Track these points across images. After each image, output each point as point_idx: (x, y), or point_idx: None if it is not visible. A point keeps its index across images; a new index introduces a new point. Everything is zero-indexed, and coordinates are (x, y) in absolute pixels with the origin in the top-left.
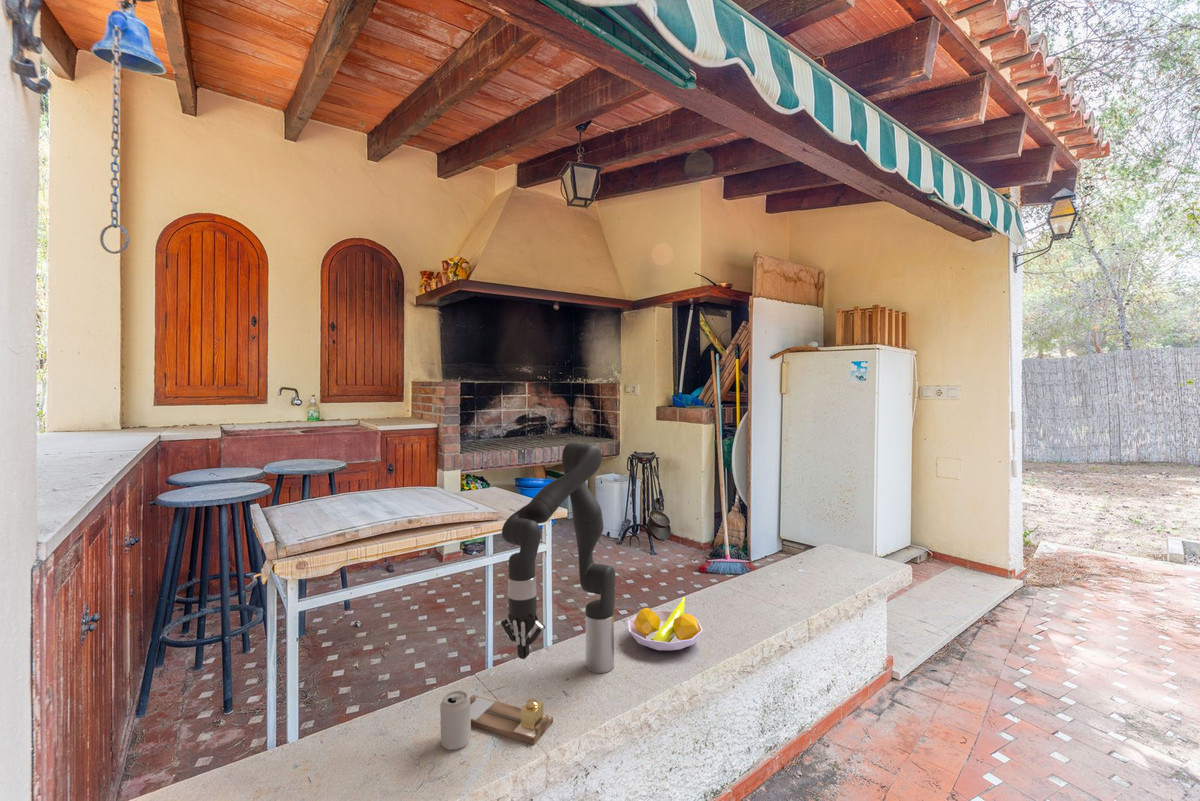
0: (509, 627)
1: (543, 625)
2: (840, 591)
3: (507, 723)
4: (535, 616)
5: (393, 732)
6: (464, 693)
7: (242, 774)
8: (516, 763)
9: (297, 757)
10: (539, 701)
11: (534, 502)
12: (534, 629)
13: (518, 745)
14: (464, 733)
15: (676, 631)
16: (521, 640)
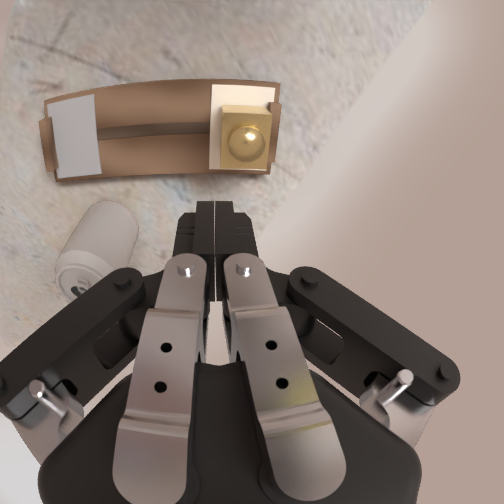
0: (83, 390)
1: (449, 393)
2: None
3: (177, 148)
4: (402, 498)
5: (19, 245)
6: (82, 269)
7: (5, 332)
8: (256, 224)
9: (5, 310)
10: (257, 113)
11: None
12: (363, 405)
13: (234, 181)
14: (132, 248)
15: None
16: (206, 309)
